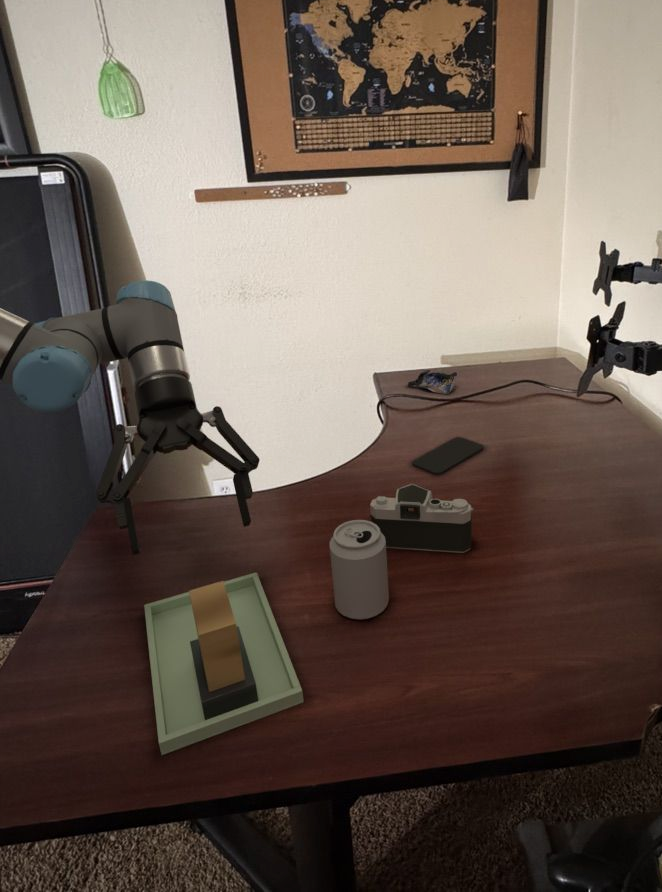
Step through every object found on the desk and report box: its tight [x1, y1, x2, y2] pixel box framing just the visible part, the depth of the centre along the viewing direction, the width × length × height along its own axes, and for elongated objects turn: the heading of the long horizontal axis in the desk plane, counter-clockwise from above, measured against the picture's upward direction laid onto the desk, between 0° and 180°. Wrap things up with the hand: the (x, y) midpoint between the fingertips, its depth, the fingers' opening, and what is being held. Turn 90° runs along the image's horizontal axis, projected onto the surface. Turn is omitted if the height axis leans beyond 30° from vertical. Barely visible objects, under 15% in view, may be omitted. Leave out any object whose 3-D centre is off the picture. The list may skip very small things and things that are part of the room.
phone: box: [411, 436, 484, 476], centre depth 126 cm, size 7×1×15 cm
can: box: [329, 519, 390, 620], centre depth 85 cm, size 8×8×12 cm
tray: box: [143, 572, 305, 756], centre depth 79 cm, size 24×16×2 cm, turn 23°
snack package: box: [407, 369, 458, 395], centre depth 162 cm, size 12×6×12 cm
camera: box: [369, 483, 475, 554], centre depth 99 cm, size 16×9×10 cm, turn 80°
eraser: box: [188, 580, 259, 720], centre depth 73 cm, size 10×6×11 cm, turn 23°
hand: (193, 538), depth 79 cm, fingers open, 13 cm apart
